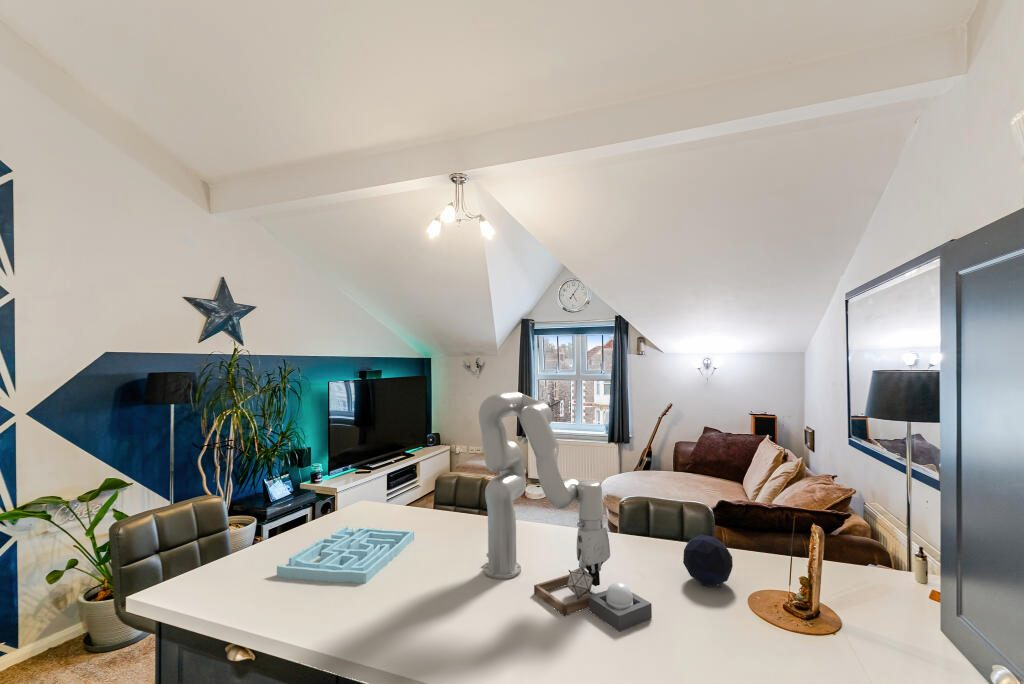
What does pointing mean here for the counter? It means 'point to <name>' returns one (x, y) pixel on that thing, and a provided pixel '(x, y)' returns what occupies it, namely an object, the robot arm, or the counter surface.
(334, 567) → the maze
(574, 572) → the game die
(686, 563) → the decorative orb
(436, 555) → the counter surface
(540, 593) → the walnut bay
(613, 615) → the dome base
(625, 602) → the dome
